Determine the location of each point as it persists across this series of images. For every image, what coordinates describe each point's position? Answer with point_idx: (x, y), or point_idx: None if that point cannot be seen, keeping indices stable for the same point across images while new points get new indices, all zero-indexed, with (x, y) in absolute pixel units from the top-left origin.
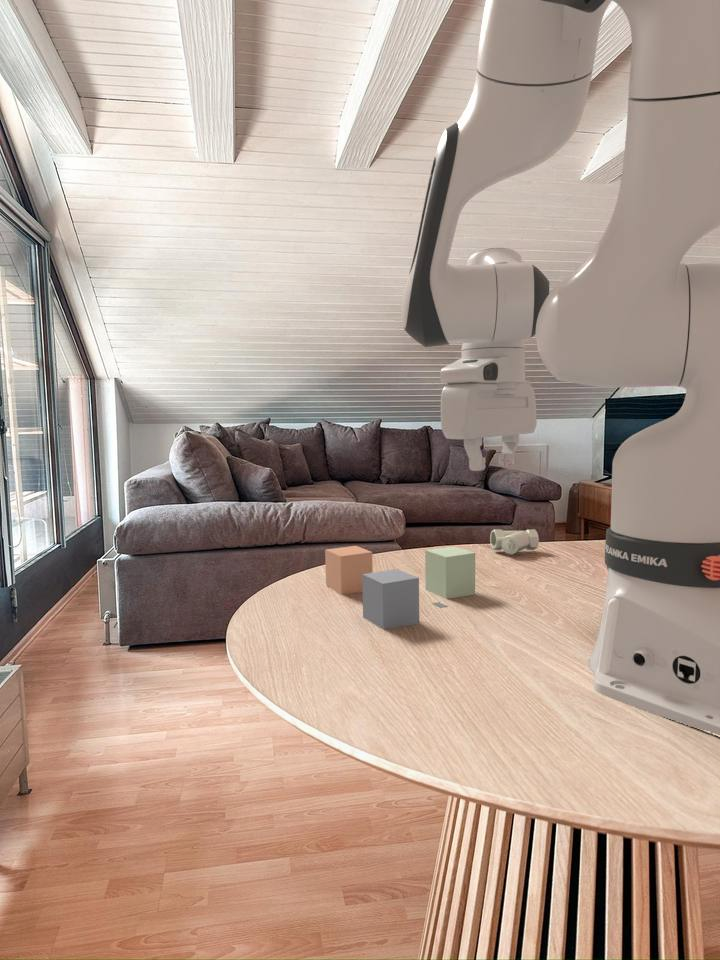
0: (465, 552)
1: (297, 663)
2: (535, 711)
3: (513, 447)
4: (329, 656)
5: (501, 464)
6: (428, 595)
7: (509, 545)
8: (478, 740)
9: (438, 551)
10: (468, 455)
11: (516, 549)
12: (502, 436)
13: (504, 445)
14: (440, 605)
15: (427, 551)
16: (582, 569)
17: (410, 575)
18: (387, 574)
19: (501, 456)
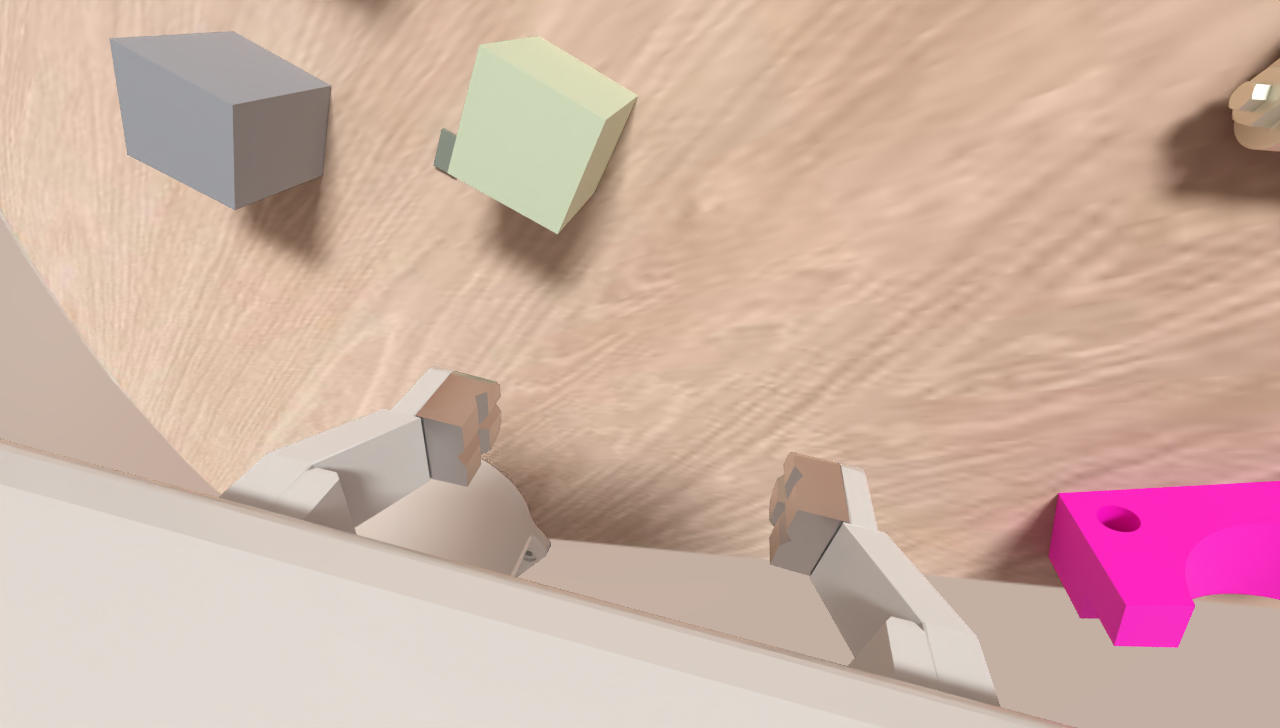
0: (541, 204)
1: (21, 68)
2: (258, 410)
3: (842, 628)
4: (89, 103)
5: (788, 466)
6: None
7: (1241, 110)
8: (171, 380)
9: (495, 107)
10: (364, 421)
11: (1240, 134)
12: (892, 675)
13: (892, 596)
14: (445, 159)
15: (475, 61)
16: (991, 374)
17: (227, 179)
18: (176, 114)
19: (787, 512)
